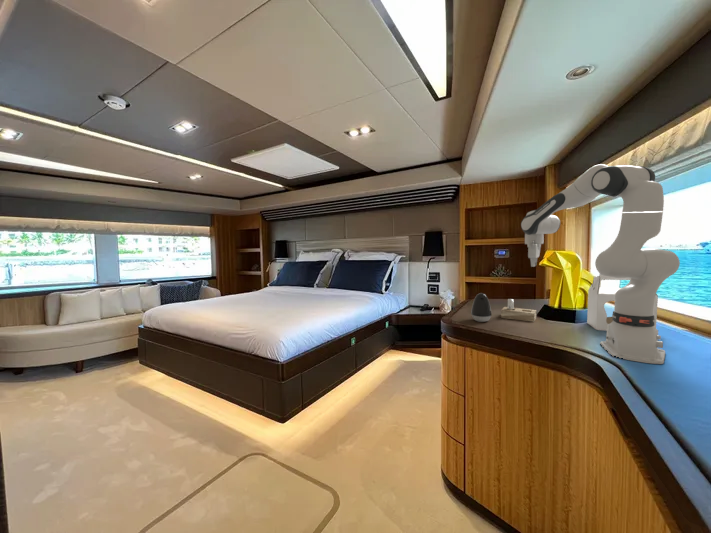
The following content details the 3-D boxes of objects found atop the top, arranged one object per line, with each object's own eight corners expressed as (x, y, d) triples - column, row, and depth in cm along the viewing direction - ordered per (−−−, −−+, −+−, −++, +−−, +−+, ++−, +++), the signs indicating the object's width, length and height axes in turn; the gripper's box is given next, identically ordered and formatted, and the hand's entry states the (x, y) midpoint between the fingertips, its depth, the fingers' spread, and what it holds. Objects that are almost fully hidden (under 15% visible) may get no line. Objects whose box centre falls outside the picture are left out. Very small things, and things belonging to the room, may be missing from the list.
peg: (512, 317, 168) (513, 300, 167) (507, 317, 170) (507, 299, 169) (513, 316, 170) (514, 299, 170) (508, 316, 172) (508, 298, 171)
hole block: (534, 321, 159) (534, 313, 159) (501, 317, 169) (501, 309, 168) (536, 318, 166) (536, 310, 166) (504, 314, 176) (504, 306, 176)
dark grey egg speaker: (471, 322, 160) (472, 294, 159) (470, 318, 170) (470, 291, 169) (492, 323, 157) (493, 295, 156) (490, 319, 167) (490, 291, 166)
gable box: (642, 326, 147) (645, 269, 144) (656, 334, 134) (660, 272, 132) (586, 323, 155) (588, 268, 153) (595, 330, 143) (597, 271, 141)
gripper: (539, 240, 153) (538, 267, 154) (542, 240, 170) (542, 265, 171) (525, 240, 157) (524, 267, 158) (529, 241, 174) (529, 265, 174)
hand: (533, 266), depth 164 cm, fingers open, 8 cm apart
